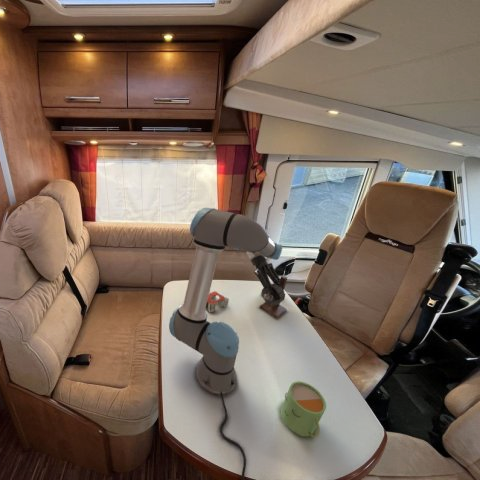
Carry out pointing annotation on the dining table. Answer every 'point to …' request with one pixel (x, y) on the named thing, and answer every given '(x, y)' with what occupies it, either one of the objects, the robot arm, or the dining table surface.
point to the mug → (303, 409)
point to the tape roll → (271, 299)
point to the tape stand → (274, 309)
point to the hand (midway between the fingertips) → (280, 297)
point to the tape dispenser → (211, 304)
